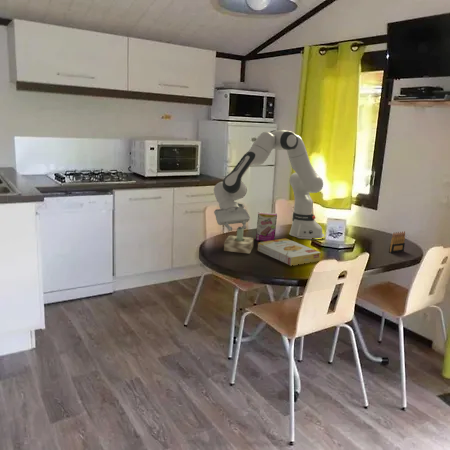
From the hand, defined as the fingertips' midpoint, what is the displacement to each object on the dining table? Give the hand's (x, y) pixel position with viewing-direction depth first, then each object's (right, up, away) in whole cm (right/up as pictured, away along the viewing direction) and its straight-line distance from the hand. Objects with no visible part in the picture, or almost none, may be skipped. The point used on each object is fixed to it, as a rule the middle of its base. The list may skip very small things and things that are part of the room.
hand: (237, 229), depth 243 cm
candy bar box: (+17, -7, +20) cm, 27 cm away
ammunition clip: (+91, -13, +13) cm, 93 cm away
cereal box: (+26, -14, -7) cm, 31 cm away
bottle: (+1, -10, +1) cm, 10 cm away
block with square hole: (+1, -10, +1) cm, 10 cm away
